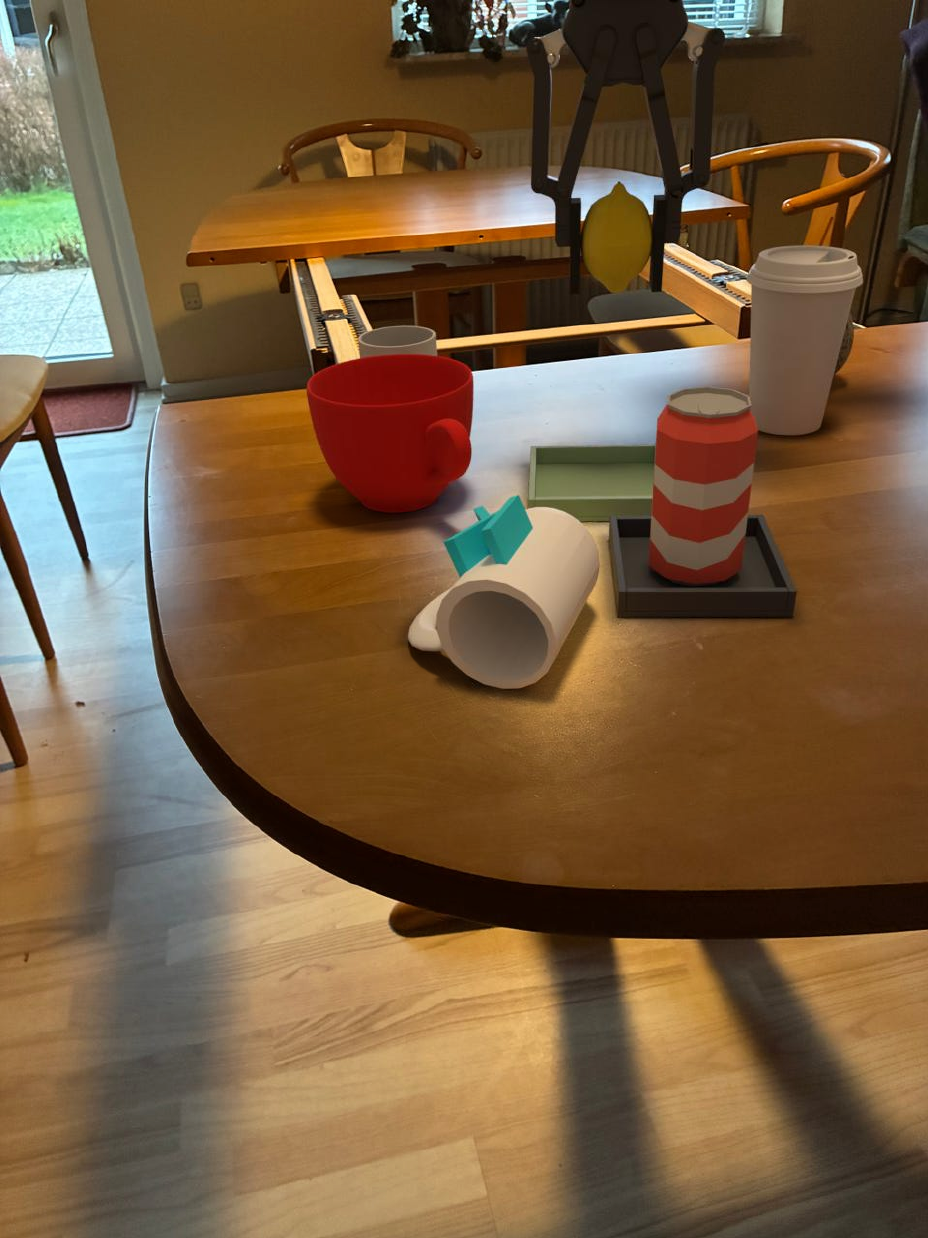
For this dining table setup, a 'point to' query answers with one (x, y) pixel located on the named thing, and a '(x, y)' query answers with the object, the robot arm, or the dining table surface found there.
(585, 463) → the green tray
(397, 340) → the cup
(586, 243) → the fruit
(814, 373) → the coffee cup
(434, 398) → the ceramic cup
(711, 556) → the beverage can
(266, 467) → the dining table surface
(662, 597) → the charcoal tray
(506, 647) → the mug
